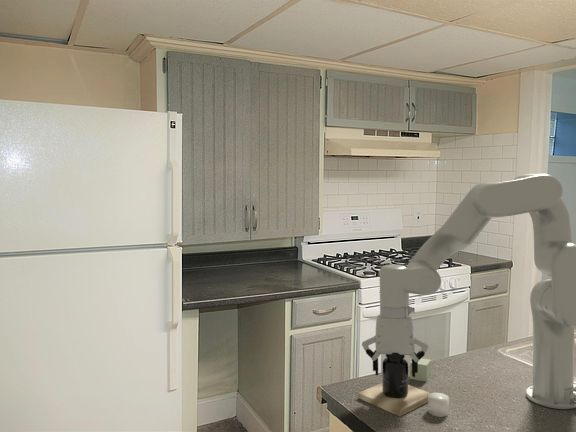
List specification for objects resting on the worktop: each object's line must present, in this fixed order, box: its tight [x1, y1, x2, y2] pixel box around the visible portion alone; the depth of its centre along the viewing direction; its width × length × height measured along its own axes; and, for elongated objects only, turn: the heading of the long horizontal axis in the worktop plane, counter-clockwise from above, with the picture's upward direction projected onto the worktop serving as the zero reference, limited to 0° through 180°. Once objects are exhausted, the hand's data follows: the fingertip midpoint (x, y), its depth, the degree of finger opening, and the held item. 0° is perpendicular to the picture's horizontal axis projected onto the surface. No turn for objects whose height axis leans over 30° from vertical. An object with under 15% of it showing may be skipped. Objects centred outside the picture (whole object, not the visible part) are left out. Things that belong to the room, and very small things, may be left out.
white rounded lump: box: [427, 392, 450, 418], centre depth 124 cm, size 5×5×4 cm
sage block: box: [409, 357, 432, 383], centre depth 145 cm, size 5×5×5 cm
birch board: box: [357, 382, 432, 417], centre depth 132 cm, size 14×14×2 cm
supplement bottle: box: [381, 353, 409, 398], centre depth 131 cm, size 7×7×12 cm
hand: (395, 374), depth 131 cm, fingers open, 9 cm apart
